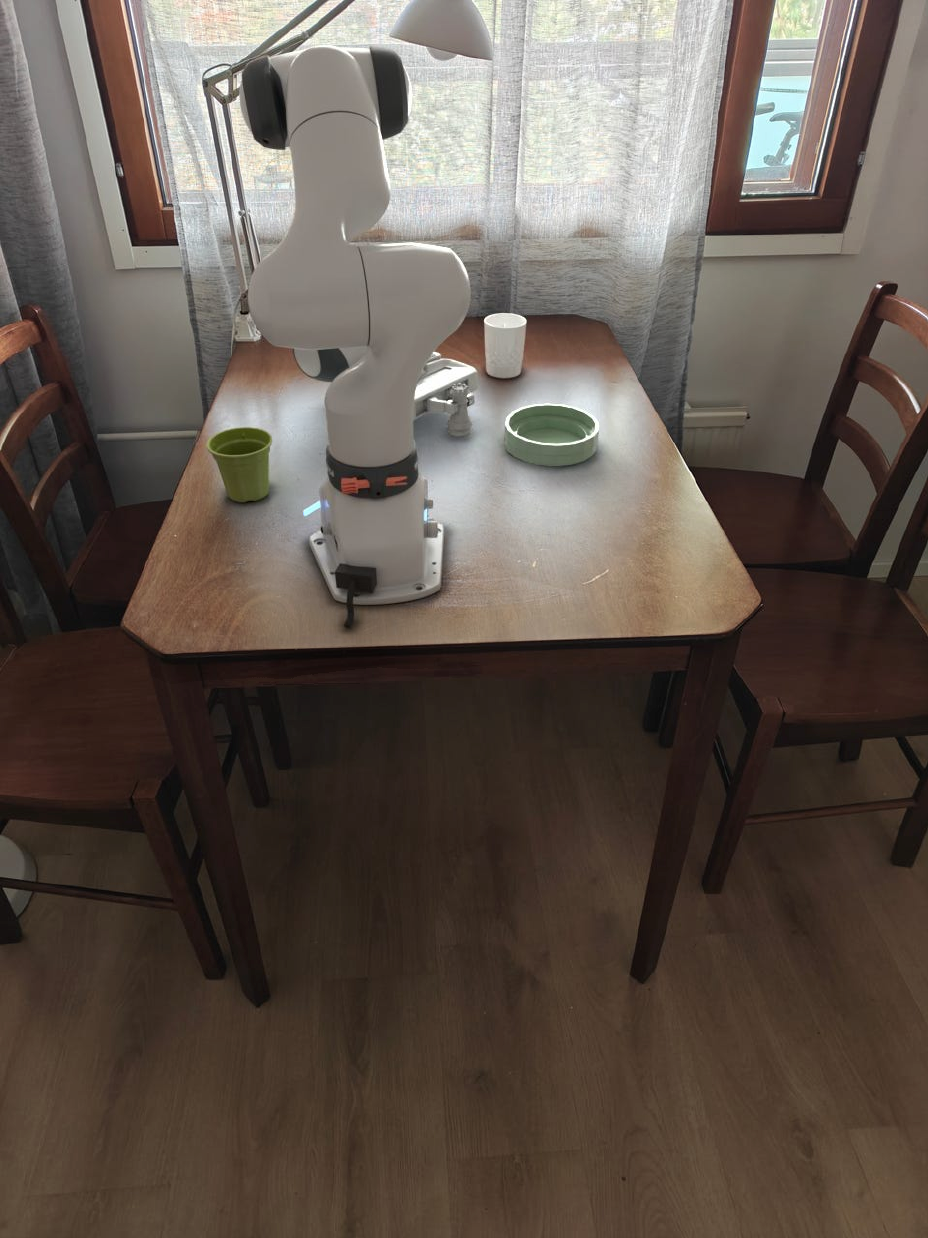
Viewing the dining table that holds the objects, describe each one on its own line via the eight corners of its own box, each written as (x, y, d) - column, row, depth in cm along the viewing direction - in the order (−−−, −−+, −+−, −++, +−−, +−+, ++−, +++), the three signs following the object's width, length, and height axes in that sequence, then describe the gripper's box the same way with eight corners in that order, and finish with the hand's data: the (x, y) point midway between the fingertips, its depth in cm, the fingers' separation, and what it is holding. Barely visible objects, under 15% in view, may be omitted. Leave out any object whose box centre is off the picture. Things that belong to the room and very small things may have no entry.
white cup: (520, 381, 166) (523, 329, 159) (479, 377, 167) (480, 325, 161) (526, 365, 172) (529, 314, 165) (487, 362, 173) (488, 311, 167)
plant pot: (203, 499, 131) (192, 446, 125) (243, 472, 137) (235, 421, 132) (253, 515, 127) (244, 461, 122) (292, 486, 134) (285, 434, 128)
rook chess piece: (474, 426, 149) (474, 381, 144) (471, 438, 146) (472, 392, 141) (447, 424, 149) (447, 380, 144) (444, 436, 146) (444, 391, 141)
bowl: (608, 465, 140) (611, 441, 137) (515, 472, 138) (516, 448, 135) (581, 423, 152) (583, 400, 149) (496, 430, 149) (496, 407, 147)
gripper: (358, 383, 143) (421, 407, 136) (440, 348, 155) (502, 368, 148) (360, 419, 147) (422, 444, 140) (440, 382, 159) (500, 403, 152)
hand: (464, 405), depth 144 cm, fingers closed on rook chess piece, 3 cm apart
